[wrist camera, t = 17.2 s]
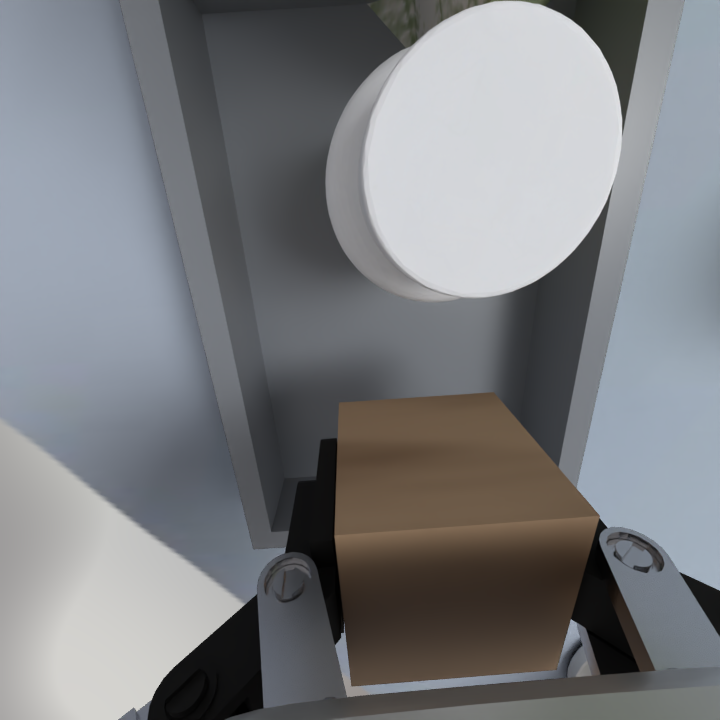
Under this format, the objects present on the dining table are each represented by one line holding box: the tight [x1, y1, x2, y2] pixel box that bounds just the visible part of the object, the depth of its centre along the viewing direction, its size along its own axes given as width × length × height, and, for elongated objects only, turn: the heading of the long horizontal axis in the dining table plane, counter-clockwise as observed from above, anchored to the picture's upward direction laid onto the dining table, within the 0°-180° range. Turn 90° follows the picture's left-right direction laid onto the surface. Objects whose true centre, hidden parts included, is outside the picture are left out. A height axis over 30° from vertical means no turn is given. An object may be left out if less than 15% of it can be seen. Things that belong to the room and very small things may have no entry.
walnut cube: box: [334, 392, 600, 686], centre depth 10 cm, size 5×5×5 cm
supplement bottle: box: [325, 1, 622, 302], centre depth 10 cm, size 5×5×10 cm
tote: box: [119, 0, 685, 549], centre depth 14 cm, size 22×15×4 cm
